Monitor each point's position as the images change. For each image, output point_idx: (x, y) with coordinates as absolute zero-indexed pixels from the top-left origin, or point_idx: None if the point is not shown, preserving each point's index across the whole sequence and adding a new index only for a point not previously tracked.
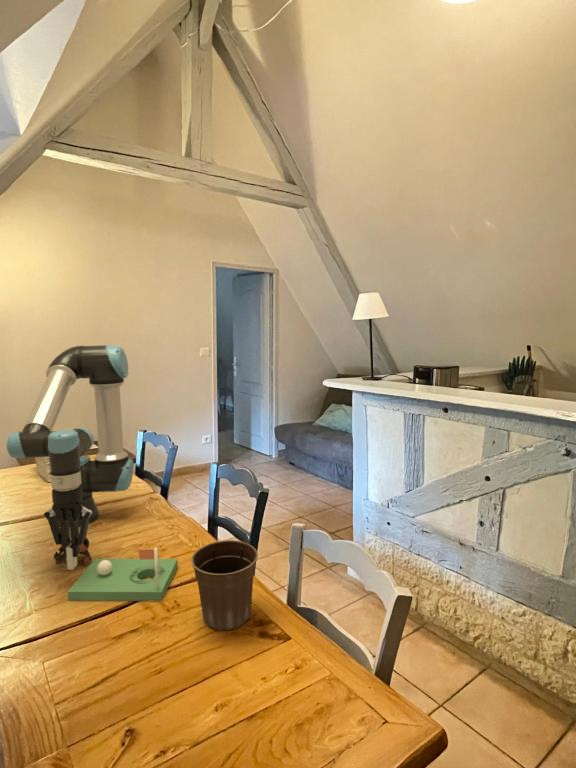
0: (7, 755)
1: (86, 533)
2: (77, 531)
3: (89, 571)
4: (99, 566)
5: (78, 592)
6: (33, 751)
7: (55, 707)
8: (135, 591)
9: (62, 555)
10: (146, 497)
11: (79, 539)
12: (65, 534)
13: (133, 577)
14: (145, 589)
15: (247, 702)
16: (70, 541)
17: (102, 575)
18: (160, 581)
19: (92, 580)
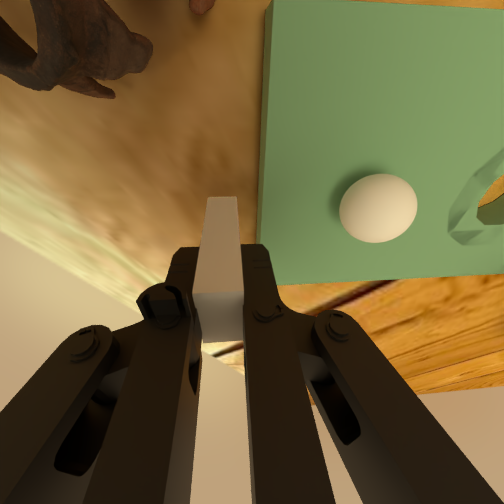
0: None
1: (416, 407)
2: (318, 482)
3: (287, 174)
4: (364, 240)
5: (289, 283)
6: (314, 402)
7: None
8: (446, 275)
9: (52, 84)
10: None
11: (329, 406)
12: (189, 500)
13: (463, 213)
14: (476, 266)
15: (491, 369)
16: (190, 310)
17: None
18: None
19: (317, 235)
